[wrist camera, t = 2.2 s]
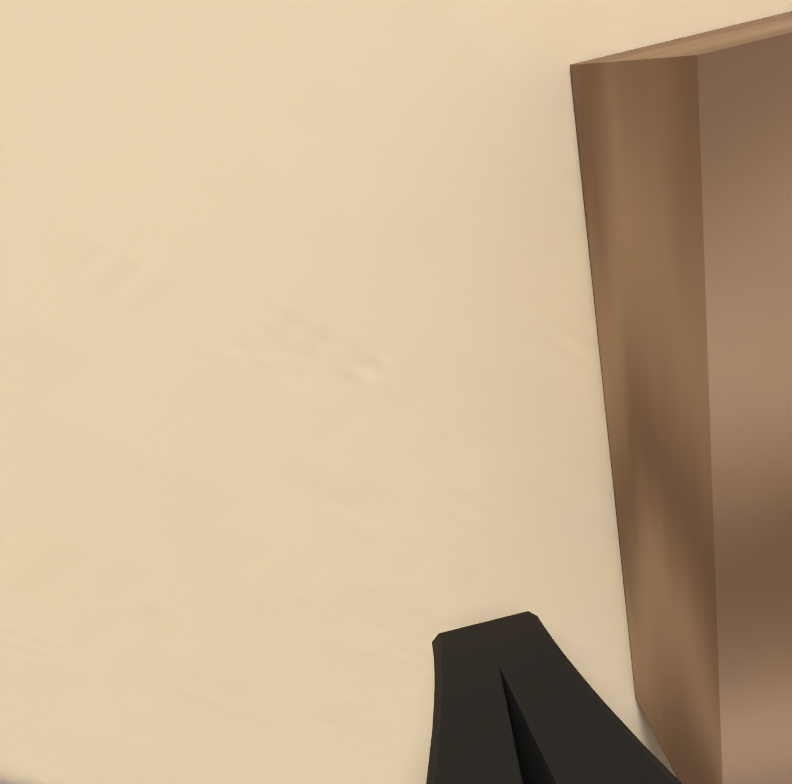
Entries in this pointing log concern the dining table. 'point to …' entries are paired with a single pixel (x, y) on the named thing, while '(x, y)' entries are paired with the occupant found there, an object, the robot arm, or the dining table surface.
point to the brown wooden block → (699, 380)
